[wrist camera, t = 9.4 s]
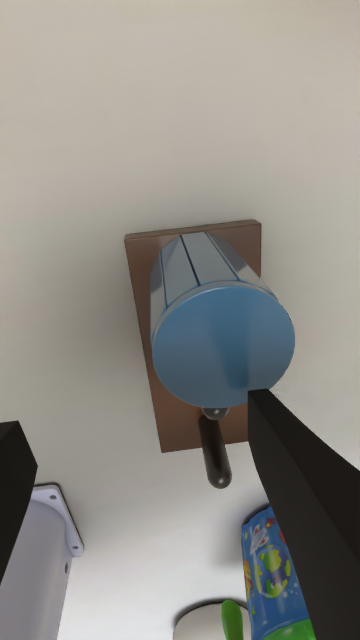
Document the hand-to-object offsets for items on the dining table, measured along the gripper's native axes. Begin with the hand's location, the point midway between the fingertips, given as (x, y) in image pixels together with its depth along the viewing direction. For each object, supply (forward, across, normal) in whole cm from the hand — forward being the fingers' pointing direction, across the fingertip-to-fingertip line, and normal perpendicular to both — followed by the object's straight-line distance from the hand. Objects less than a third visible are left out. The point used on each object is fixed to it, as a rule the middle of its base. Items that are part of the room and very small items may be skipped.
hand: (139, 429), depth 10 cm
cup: (+9, -3, -2) cm, 9 cm away
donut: (+10, -2, +41) cm, 43 cm away
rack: (+10, -3, +4) cm, 11 cm away
